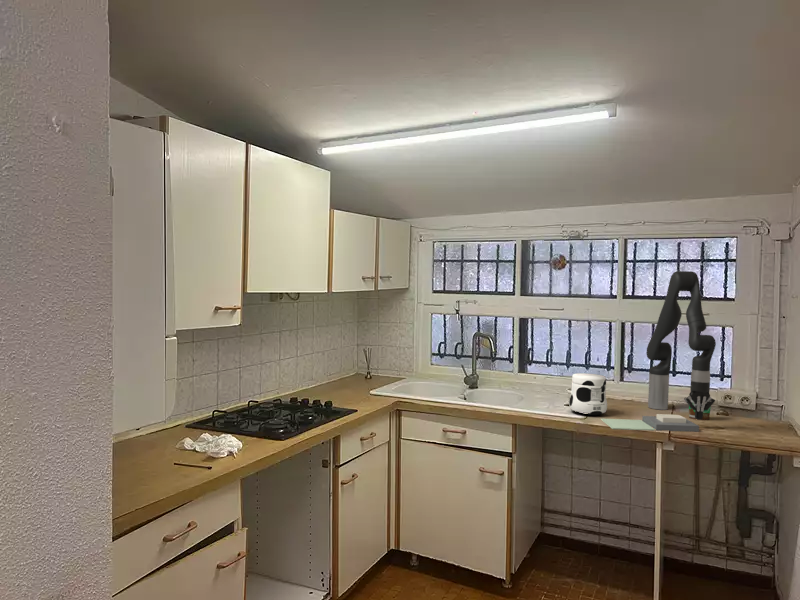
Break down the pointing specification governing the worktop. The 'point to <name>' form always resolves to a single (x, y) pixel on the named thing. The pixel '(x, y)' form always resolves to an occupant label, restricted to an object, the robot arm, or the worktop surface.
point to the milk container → (588, 394)
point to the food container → (705, 413)
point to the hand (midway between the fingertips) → (698, 419)
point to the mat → (627, 424)
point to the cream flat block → (671, 418)
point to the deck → (670, 425)
